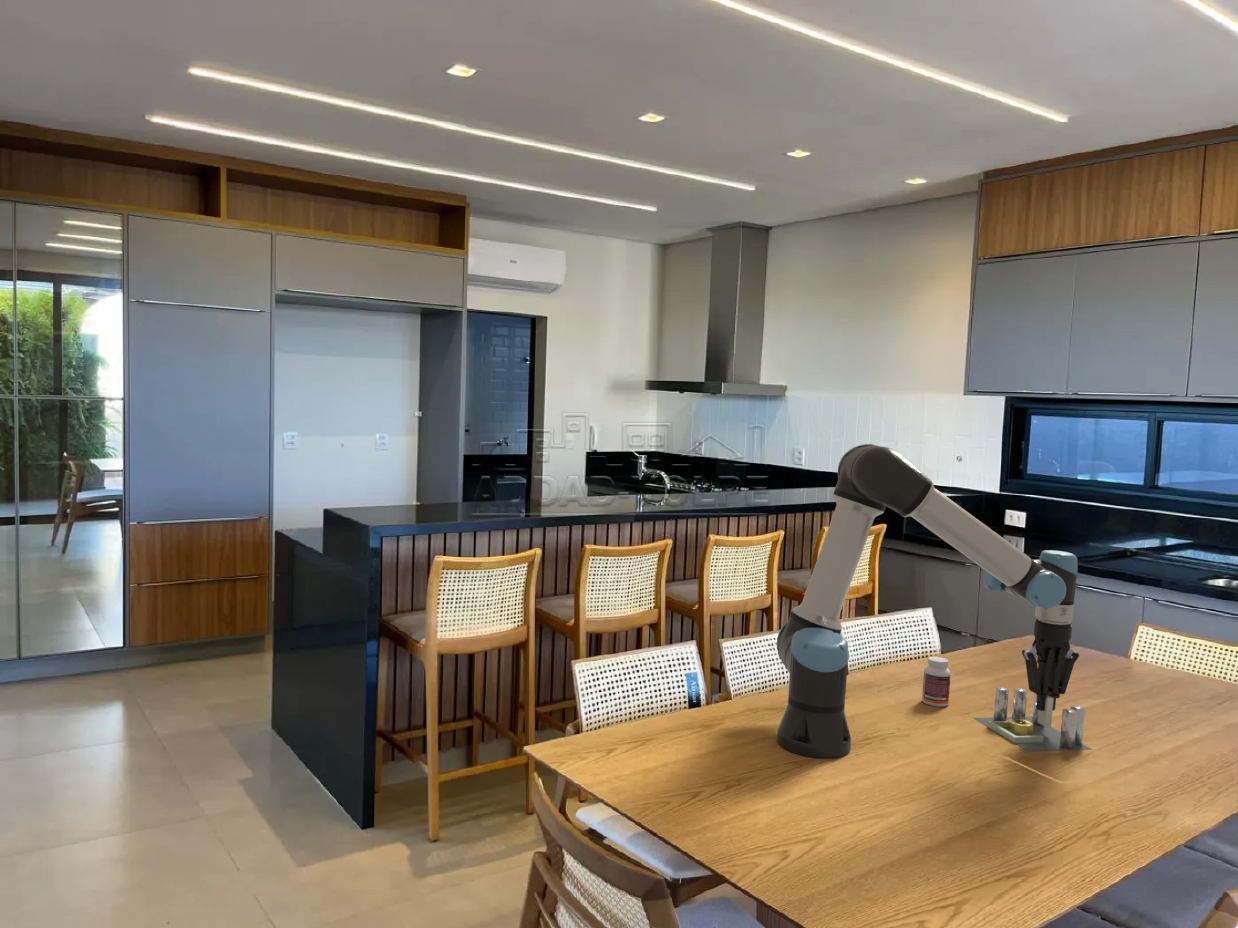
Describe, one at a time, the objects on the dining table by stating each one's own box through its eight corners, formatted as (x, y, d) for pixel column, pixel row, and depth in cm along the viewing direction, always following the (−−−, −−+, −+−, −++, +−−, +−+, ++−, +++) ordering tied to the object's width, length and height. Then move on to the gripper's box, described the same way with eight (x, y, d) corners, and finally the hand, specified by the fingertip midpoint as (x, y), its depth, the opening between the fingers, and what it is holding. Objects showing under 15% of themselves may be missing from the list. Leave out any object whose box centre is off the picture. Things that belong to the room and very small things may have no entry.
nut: (1017, 737, 195) (1018, 726, 195) (1003, 728, 200) (1003, 717, 200) (1036, 737, 196) (1037, 725, 196) (1021, 728, 201) (1022, 717, 201)
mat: (1027, 752, 188) (1027, 750, 188) (973, 719, 207) (973, 717, 207) (1092, 751, 190) (1092, 749, 190) (1032, 718, 210) (1032, 716, 210)
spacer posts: (1040, 750, 188) (1043, 713, 188) (990, 720, 206) (993, 686, 205) (1091, 749, 191) (1094, 712, 190) (1037, 719, 208) (1040, 686, 207)
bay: (1014, 742, 192) (1014, 737, 192) (987, 726, 202) (987, 721, 202) (1043, 741, 193) (1043, 736, 193) (1015, 725, 203) (1015, 720, 203)
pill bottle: (953, 707, 215) (956, 662, 215) (929, 707, 214) (932, 662, 214) (940, 698, 221) (943, 655, 221) (917, 698, 221) (920, 655, 220)
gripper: (1038, 624, 192) (1028, 730, 194) (1091, 625, 195) (1081, 729, 196) (1016, 616, 200) (1007, 718, 201) (1067, 616, 202) (1058, 717, 204)
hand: (1044, 724), depth 199 cm, fingers closed
